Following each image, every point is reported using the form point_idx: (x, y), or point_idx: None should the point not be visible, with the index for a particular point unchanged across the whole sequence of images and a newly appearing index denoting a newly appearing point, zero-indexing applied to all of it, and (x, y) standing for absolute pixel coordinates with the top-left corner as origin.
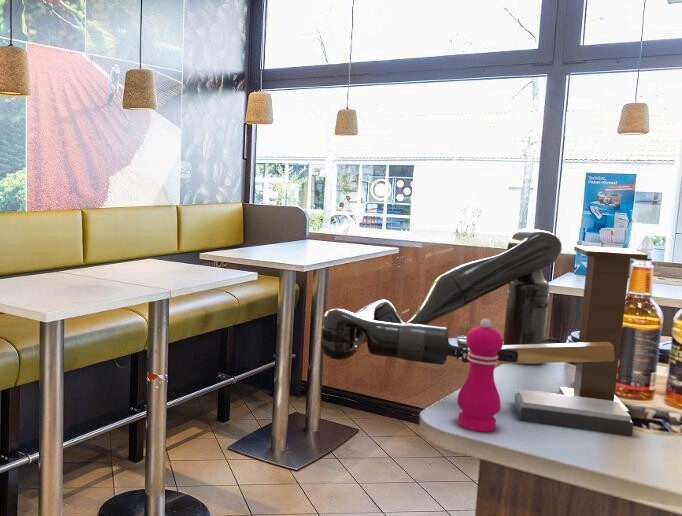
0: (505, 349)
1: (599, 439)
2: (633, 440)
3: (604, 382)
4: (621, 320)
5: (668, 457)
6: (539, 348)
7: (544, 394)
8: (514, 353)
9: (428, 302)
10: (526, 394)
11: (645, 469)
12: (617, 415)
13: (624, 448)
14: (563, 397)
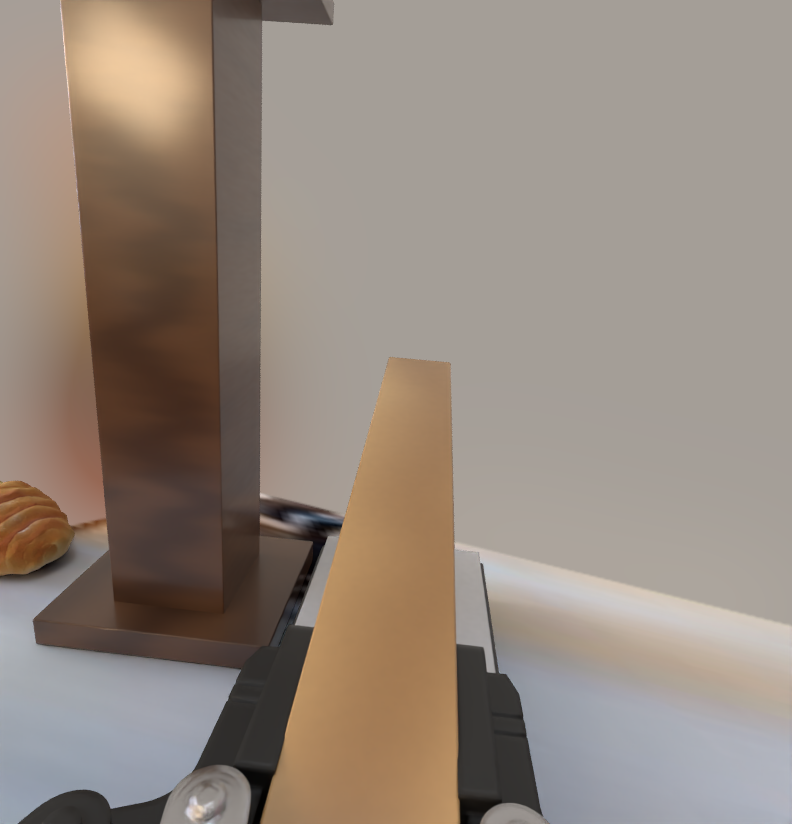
0: (466, 714)
1: (571, 679)
2: (513, 605)
3: (248, 505)
4: (258, 276)
5: (603, 584)
6: (453, 519)
7: None
8: (496, 675)
9: None
10: None
11: (763, 651)
12: (481, 573)
13: (610, 643)
14: None
